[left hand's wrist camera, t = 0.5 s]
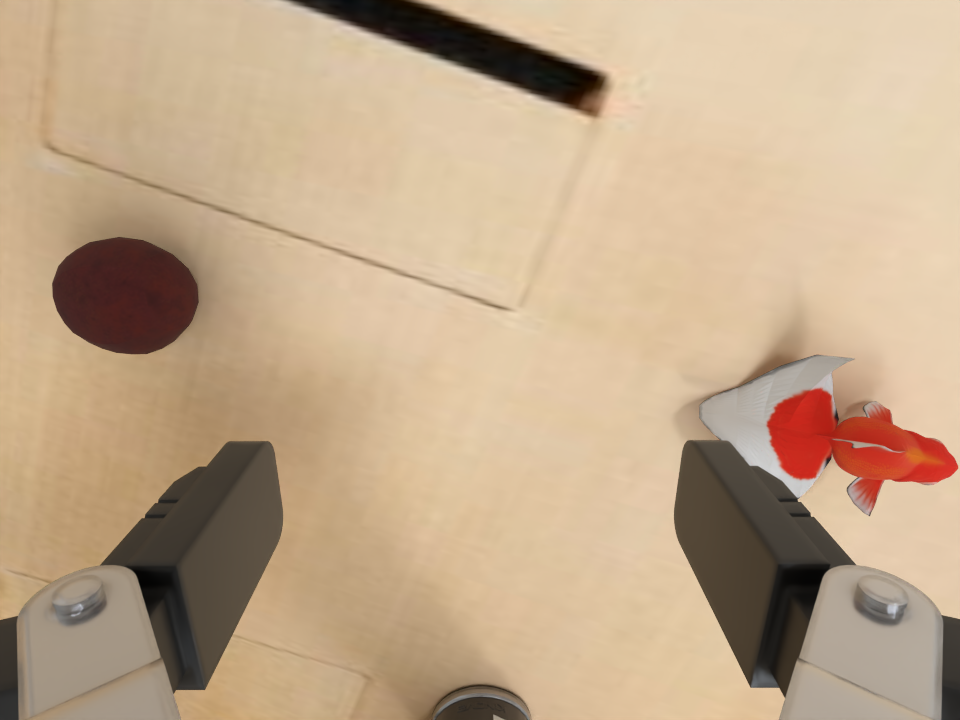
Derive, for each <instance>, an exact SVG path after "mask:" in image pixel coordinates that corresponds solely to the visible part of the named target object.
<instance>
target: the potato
mask: <svg viewBox="0 0 960 720" xmlns="http://www.w3.org/2000/svg"><path fill="white" fill-rule="evenodd" d="M52 287H53V299H54V302H55V305H56V308H57V311H58V313H59V315H60V316H61V318H62V320H63V321H64V323H65V324H66V325H67V326H68V327H69V329H70V330H71V331H72V332H73V333H75V334H76V335H78V336H80V337H81V338H83V339H84V340H86V341H87V342H89V343H91V344H93V345H96V346H98V347H100V348H102V349H106V350H109V351H113V352H116V353H125V354H148V353H151V352H154V351H156V350H159V349H162V348H164V347H165V346H167V345H169V344H170V343H172V342H174V341H175V340H176V339H177V338H178V336H179V335H180V334H181V333H182V332H183V331H184V330H185V329H186V328H187V327H188V326H189V324H190V323H191V321H192V319H193V317H194V314H195V311H196V308H197V305H198V290H197V284H196V282H195V280H194V278H193V276H192V275H191V273H190V271H189V269H188V268H187V267H186V266H185V265H184V264H183V263H181V262H180V261H179V260H178V259H177V258H176V257H175V256H174V255H173V254H171V253H169V252H167V251H165V250H163V249H161V248H159V247H157V246H155V245H153V244H151V243H148V242H146V241H143V240H137V239H130V238H122V237H117V238H111V239H106V240H100V241H94V242H89V243H88V244H86V245H84V246H82V247H80V248H79V249H77V250H75V251H74V252H73V253H71V254H70V255H69V256H67V257H66V258H65V259H64V260H63V262H62V263H61V264H60V265H59V266H58V269H57V272H56V274H55V277H54V280H53V283H52Z"/></svg>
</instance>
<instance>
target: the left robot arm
mask: <svg viewBox="0 0 960 720" xmlns="http://www.w3.org/2000/svg"><path fill="white" fill-rule="evenodd" d="M797 499H798V498H797V497H796V496H795V495H794V494H793V493H792V492H791V490H790V489H789V488H788V487H787V486H786V485H785V484H784V482H783V481H782V480H780V479H778V478H777V477H775V476H773V475H772V474H770V473H769V472H767V471H765V470H764V469H762V468H761V467H759V466H750V465H749V464H748V463H747V462H746V461H745V459H744V458H743V457H742V456H741V454H740V453H739V452H738V451H737V450H736V448H735V447H734V446H733V445H732V444H731V443H730V442H729V441H727V440H689V441H687V442H686V443H685V445H684V447H683V451H682V458H681V465H680V472H679V479H678V486H677V493H676V500H675V508H674V523H675V530H676V534H677V538H678V541H679V543H680V545H681V547H682V549H683V551H684V553H685V555H686V557H687V559H688V561H689V563H690V565H691V567H692V569H693V571H694V574H695V576H696V578H697V580H698V582H699V584H700V586H701V588H702V590H703V592H704V594H705V596H706V598H707V600H708V602H709V604H710V606H711V608H712V610H713V612H714V614H715V616H716V618H717V620H718V622H719V624H720V626H721V628H722V630H723V632H724V634H725V636H726V638H727V641H728V643H729V645H730V647H731V649H732V651H733V653H734V655H735V657H736V659H737V661H738V663H739V665H740V667H741V669H742V671H743V673H744V675H745V677H746V679H747V681H748V683H749V685H750V687H751V688H780V690H781V692H782V693H783V695H784V697H785V701H784V704H783V708H782V711H781V714H780V718H779V720H960V619H956V618H952V617H947V616H943V615H941V613H940V611H939V610H938V608H937V607H936V605H935V604H934V603H933V602H932V601H931V600H930V599H929V598H928V597H927V596H926V595H925V594H924V593H923V592H921V591H920V590H919V589H917V588H916V587H914V586H913V585H911V584H910V583H908V582H906V581H904V580H903V579H900V578H898V577H896V576H894V575H892V574H889V573H887V572H884V571H881V570H878V569H874V568H870V567H866V566H858V565H856V564H855V563H854V562H853V561H852V560H851V558H850V557H849V556H848V555H847V554H846V553H845V552H844V551H843V549H842V548H841V547H840V546H839V545H838V544H837V543H836V541H835V540H834V539H833V538H832V537H831V536H830V535H829V534H828V532H827V531H826V530H825V529H824V528H823V527H822V526H821V524H820V523H819V522H818V521H817V520H816V519H815V518H814V517H811V515H810V512H809V511H808V510H807V509H806V507H805V506H804V505H803V504H802V503H801V502H798V500H797ZM282 525H283V508H282V501H281V494H280V487H279V480H278V473H277V466H276V459H275V453H274V449H273V446H272V444H271V443H270V442H268V441H230V442H227V443H226V444H225V445H224V446H223V448H222V449H221V450H220V451H219V452H218V454H217V455H216V456H215V457H214V458H213V460H212V461H211V462H210V463H209V464H208V466H207V467H198V468H196V469H194V470H193V471H191V472H189V473H188V474H186V475H185V476H183V477H181V478H180V479H178V480H177V481H175V482H174V483H173V484H172V485H171V486H170V487H169V488H168V489H167V491H166V492H165V493H164V494H163V495H162V496H161V497H160V498H159V501H158V503H155V504H154V505H153V506H152V507H151V509H150V510H149V511H148V512H147V513H146V514H145V518H142V519H141V520H140V521H139V522H138V523H137V524H136V525H135V527H134V528H133V529H132V530H131V531H130V532H129V533H128V534H127V536H126V537H125V538H124V539H123V540H122V541H121V542H120V543H119V545H118V546H117V547H116V548H115V549H114V550H113V551H112V552H111V554H110V555H109V556H108V557H107V558H106V559H105V560H104V561H103V563H102V564H101V565H100V566H94V567H90V568H86V569H82V570H79V571H76V572H73V573H71V574H68V575H66V576H64V577H62V578H60V579H57V580H56V581H54V582H52V583H50V584H49V585H47V586H46V587H44V588H43V589H41V590H40V591H39V592H37V593H36V594H35V595H34V596H33V597H32V598H31V599H30V600H29V601H28V602H27V603H26V604H25V605H24V607H23V608H22V610H21V611H20V613H19V616H16V617H12V618H8V619H3V620H0V720H181V718H180V714H179V711H178V708H177V704H176V701H175V698H174V692H175V691H176V690H205V689H206V687H207V685H208V683H209V681H210V679H211V677H212V675H213V673H214V671H215V669H216V667H217V665H218V662H219V660H220V658H221V656H222V654H223V652H224V650H225V648H226V646H227V644H228V642H229V640H230V638H231V636H232V634H233V632H234V630H235V628H236V626H237V624H238V622H239V620H240V618H241V616H242V614H243V612H244V610H245V608H246V606H247V604H248V602H249V600H250V598H251V596H252V594H253V592H254V590H255V588H256V586H257V584H258V582H259V580H260V578H261V576H262V574H263V572H264V570H265V568H266V566H267V564H268V562H269V560H270V558H271V556H272V554H273V552H274V550H275V548H276V546H277V544H278V542H279V539H280V536H281V531H282ZM431 720H531V715H530V712H529V710H528V708H527V706H526V705H525V704H524V703H523V702H522V701H521V700H520V699H519V698H518V697H516V696H515V695H513V694H511V693H510V692H507V691H505V690H502V689H498V688H494V687H486V686H477V687H469V688H464V689H461V690H458V691H456V692H453V693H451V694H450V695H448V696H447V697H445V698H444V699H443V700H442V701H441V702H440V703H439V704H438V705H437V706H436V708H435V710H434V712H433V715H432V719H431Z"/></svg>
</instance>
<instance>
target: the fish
mask: <svg viewBox="0 0 960 720" xmlns="http://www.w3.org/2000/svg"><path fill="white" fill-rule="evenodd" d="M851 360H854V359H853V358H843V357H834V356H824V355H814V356H811V357H808V358H804V359H801V360H798V361H795V362H792V363H788V364H785V365H782V366H779V367H777V368H775V369H773V370H771V371H769V372H767V373H765V374H764V375H762V376H760V377H758V378H756V379H754V380H752V381H750V382H748V383H746V384H744V385H742V386H740V387H738V388H734V389H731V390H728V391H724V392H722V393H720V394H717V395H715V396H712V397H711V398H709V399H707V400H705V401H704V402H703V403H702V404H700V407H699V418H700V419H701V421H702V422H703V423H704V425H705V426H706V427H707V428H708V429H709V430H710V431H711V432H712V433H713V434H714V435H715V436H716V437H718V438H719V439H720V440H727V441H729V442H730V443H731V444H732V445H733V446H734V447H735V448H736V450H737V451H738V452H739V453H740V454H741V456H742V457H743V458H744V459H745V461H746V462H747V463H748V464H749V465H750V466H759V467H761V468H762V469H764V470H765V471H767V472H769V473H770V474H772V475H773V476H775V477H777V478H778V479H780V480H782V481H783V482H784V484H785V485H786V486H787V487H788V488H789V489H790V490H791V492H792V493H793V494H794V495H795V496H796V497H797V498H798V499H799V498H800V497H801V496H802V495H803V494H804V493H805V492H806V491H807V490H808V489H809V488H810V487H811V486H812V485H813V483H814V482H815V481H816V479H817V478H818V477H819V475H820V474H821V473H822V471H823V470H824V468H825V467H826V466H827V464H828V463H829V461H830V460H831V455H832V454H833V457H834V459H835V461H836V463H837V464H838V466H839V467H840V468H841V469H843V470H844V471H846V472H848V473H850V474H852V475H854V476H857V477H858V478H857V479H855V480H854V481H853V482H852V483H851V484H850V485H849V486H848V487H847V493H848V495H849V496H850V498H851V500H852V501H853V503H854V504H855V505H856V506H857V507H858V508H859V509H860V510H861V511H862V512H864V513H865V514H867V515H869V516H870V514H871V512H872V510H873V508H874V505H875V503H876V500H877V496H878V494H879V492H880V489H881V486H882V484H883V482H884V480H889V479H890V480H893V481H897V482H909V481H913V482H918V483H921V484H924V485H934V484H936V483H938V482H939V481H941V480H943V479H945V478H948V477H950V476H951V475H952V474H954V472H955V471H956V470H957V469H958V465H957V463H956V460H955V458H954V457H953V456H952V455H951V454H950V453H949V452H948V450H947V449H946V447H945V446H944V444H943V443H942V442H941V441H939V440H937V439H934V438H925V437H923V436H921V435H919V434H917V433H915V432H912V431H907V430H903V429H901V428H899V427H897V426H895V425H893V422H892V415H891V412H890V410H889V409H887V408H885V407H883V406H882V405H881V404H879V403H878V402H876V401H874V402H869V403H868V404H866V405H865V406H864V407H863V410H864V412H865V414H866V416H867V417H852V418H849V419H847V420H845V421H843V422H842V423H840V424H839V425H838V426H837V423H838V420H839V418H838V414H837V410H836V406H835V402H834V398H833V381H832V372H833V371H834V370H835V369H837V368H838V367H840V366H841V365H843V364H845V363H847V362H849V361H851ZM836 426H837V427H836Z"/></svg>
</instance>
